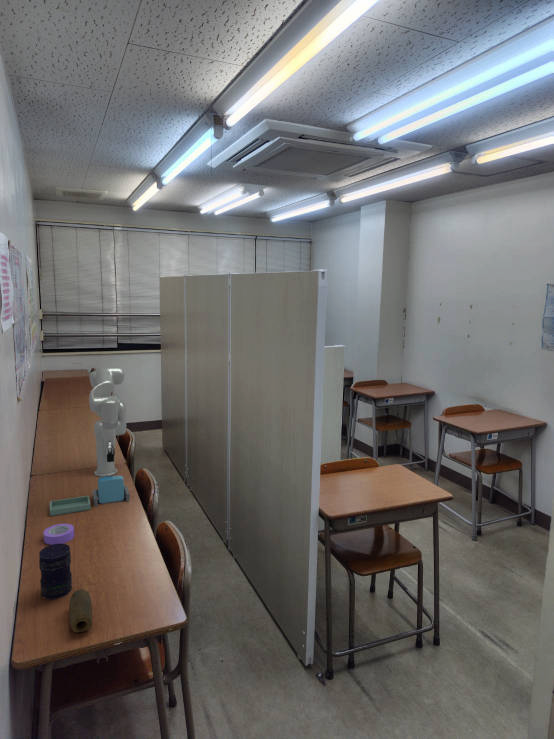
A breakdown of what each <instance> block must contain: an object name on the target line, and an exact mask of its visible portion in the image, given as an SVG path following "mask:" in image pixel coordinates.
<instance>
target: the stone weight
mask: <svg viewBox="0 0 554 739" xmlns="http://www.w3.org/2000/svg"><path fill="white" fill-rule="evenodd" d="M91 599H92V598H91V595H90V592H89V591H87V590H86V589H83V588H82V589H81V588H80V589H77V590H75V591H74V592H73V593H72V594H71V596H70V598H69V604H68V605H69V608H68V609H69V610H68V613H69V616H68V617H69V619H68V620H69V625H70V628H71V630H72V631H73V633H83V632H85V631H88V630H89V629H90V628H91V626H92V623H93V606H92V600H91Z"/></svg>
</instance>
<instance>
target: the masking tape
mask: <svg viewBox="0 0 554 739" xmlns="http://www.w3.org/2000/svg"><path fill="white" fill-rule="evenodd" d="M74 538H75V527H74V525H72V524H70V523H58V524H54V525H51V526H49V527H47V528H46V529H45V530H44V531H43V542H44V543H45V544H47V545H49V544H50V545H53V544H66V543H68V542H70V541H72V540H73V539H74ZM50 545H49V546H50Z"/></svg>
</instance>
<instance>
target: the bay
mask: <svg viewBox="0 0 554 739" xmlns="http://www.w3.org/2000/svg"><path fill="white" fill-rule="evenodd" d="M124 495H125V496H124V499H125V498H126V499H125V501H126V502H130V501H129V500H130V499H131V497H130V496H131V495H130V491H129V489H128V485H127V484H124ZM92 502H93V505H94V507H98V506H99V505H98V504H99V497H98V488H97V489H92Z"/></svg>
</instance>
